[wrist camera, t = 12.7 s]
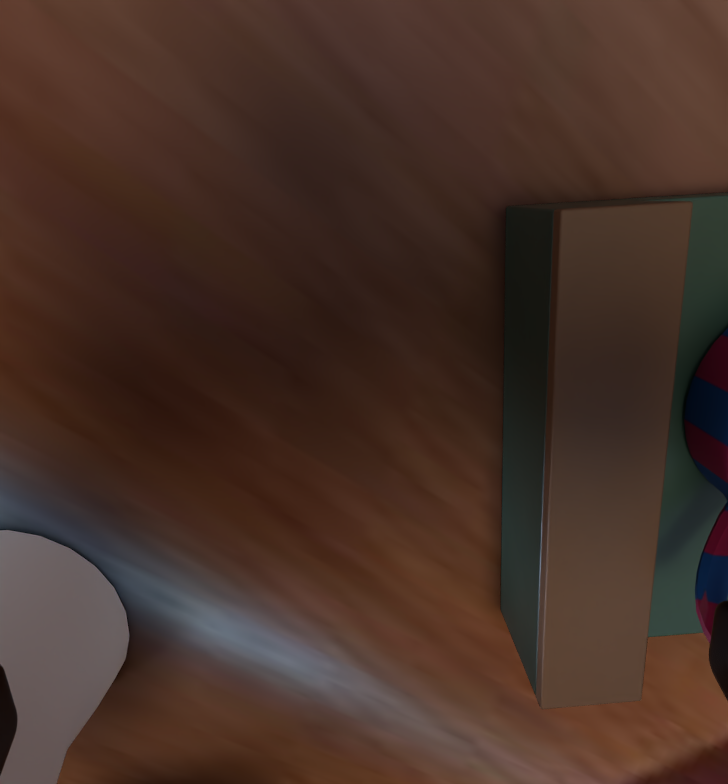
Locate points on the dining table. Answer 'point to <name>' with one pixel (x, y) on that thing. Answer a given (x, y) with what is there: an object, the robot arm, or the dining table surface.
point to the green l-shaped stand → (605, 433)
